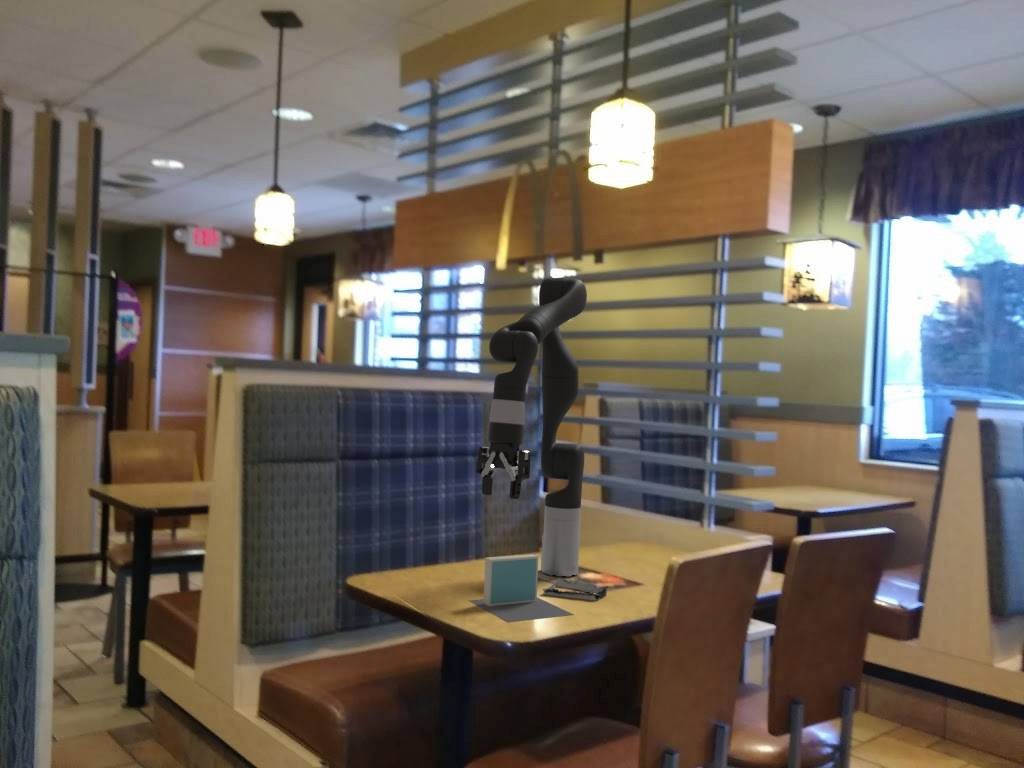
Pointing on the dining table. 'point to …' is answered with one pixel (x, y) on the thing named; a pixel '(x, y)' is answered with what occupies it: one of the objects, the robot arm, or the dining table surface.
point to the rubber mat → (523, 610)
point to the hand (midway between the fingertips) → (500, 496)
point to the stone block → (510, 579)
